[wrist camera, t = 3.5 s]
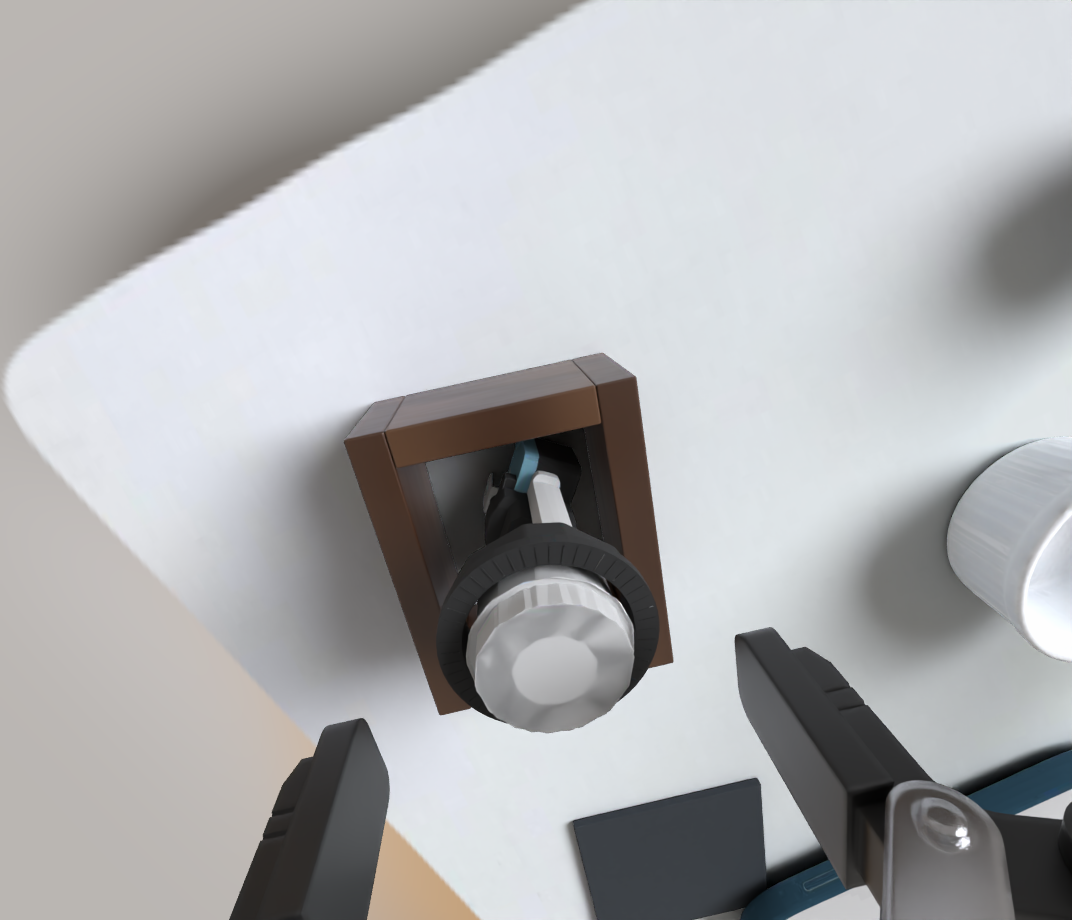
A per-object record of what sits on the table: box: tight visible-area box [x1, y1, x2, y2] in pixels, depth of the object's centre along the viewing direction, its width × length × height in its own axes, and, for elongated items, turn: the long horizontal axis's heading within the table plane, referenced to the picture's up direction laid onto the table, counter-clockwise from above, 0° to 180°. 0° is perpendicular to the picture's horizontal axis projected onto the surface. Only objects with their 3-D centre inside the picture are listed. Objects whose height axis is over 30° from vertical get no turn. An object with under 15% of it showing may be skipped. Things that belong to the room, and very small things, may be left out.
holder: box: [344, 353, 673, 715], centre depth 19 cm, size 9×11×4 cm
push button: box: [436, 438, 660, 733], centre depth 16 cm, size 7×5×10 cm
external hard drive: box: [740, 750, 1072, 920], centre depth 31 cm, size 24×12×2 cm, turn 118°
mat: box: [573, 778, 767, 920], centre depth 29 cm, size 10×10×1 cm
